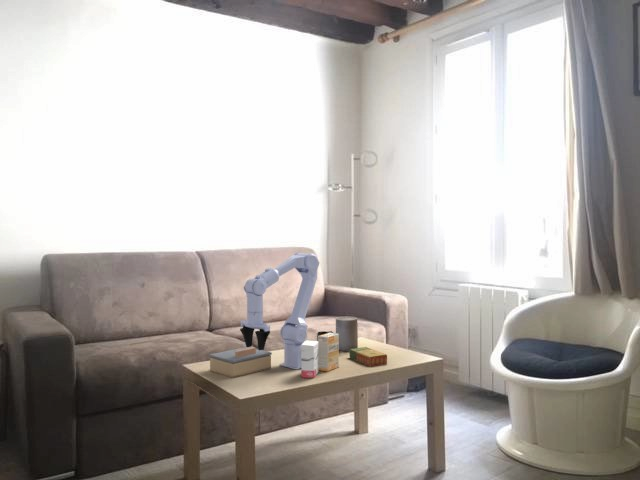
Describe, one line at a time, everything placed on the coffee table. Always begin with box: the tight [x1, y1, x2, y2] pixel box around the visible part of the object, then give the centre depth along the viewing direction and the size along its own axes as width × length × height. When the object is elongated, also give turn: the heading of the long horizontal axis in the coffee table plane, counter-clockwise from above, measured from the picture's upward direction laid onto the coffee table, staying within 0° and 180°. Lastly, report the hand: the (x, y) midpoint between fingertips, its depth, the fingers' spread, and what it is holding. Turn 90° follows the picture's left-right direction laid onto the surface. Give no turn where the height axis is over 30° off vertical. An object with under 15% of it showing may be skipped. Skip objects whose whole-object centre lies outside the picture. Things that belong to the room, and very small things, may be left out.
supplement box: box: [318, 332, 340, 372], centre depth 212 cm, size 8×5×13 cm, turn 148°
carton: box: [348, 346, 388, 367], centre depth 225 cm, size 8×16×4 cm, turn 27°
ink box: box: [300, 339, 319, 379], centre depth 204 cm, size 9×5×12 cm, turn 168°
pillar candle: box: [335, 315, 359, 352], centre depth 246 cm, size 10×10×15 cm
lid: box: [208, 346, 273, 363], centre depth 211 cm, size 14×18×3 cm
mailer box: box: [209, 355, 272, 379], centre depth 211 cm, size 14×18×5 cm
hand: (255, 348), depth 205 cm, fingers open, 6 cm apart
